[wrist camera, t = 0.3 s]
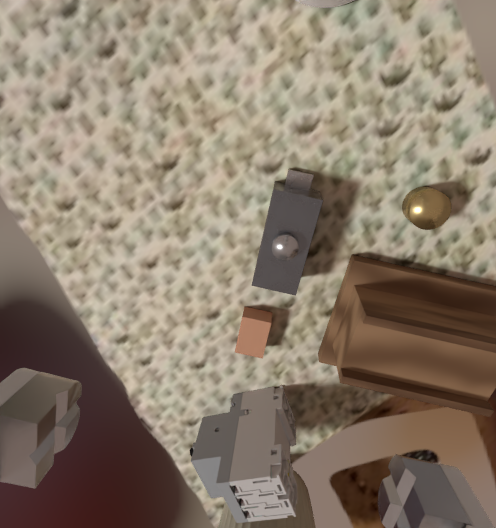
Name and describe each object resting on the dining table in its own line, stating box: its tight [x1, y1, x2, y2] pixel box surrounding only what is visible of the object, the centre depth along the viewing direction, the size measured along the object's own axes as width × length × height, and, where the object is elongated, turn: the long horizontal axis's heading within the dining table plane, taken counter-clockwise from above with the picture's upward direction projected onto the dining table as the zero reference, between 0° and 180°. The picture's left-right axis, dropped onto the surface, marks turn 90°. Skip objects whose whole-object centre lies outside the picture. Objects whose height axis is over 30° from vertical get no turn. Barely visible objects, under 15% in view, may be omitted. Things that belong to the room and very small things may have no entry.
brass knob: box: [402, 186, 451, 230], centre depth 41 cm, size 4×4×3 cm
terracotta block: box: [235, 307, 272, 358], centre depth 50 cm, size 6×4×3 cm, turn 169°
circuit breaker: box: [190, 385, 298, 523], centre depth 51 cm, size 8×14×15 cm, turn 109°
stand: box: [318, 255, 496, 417], centre depth 44 cm, size 16×20×10 cm
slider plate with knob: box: [252, 169, 323, 295], centre depth 43 cm, size 16×6×6 cm, turn 169°
